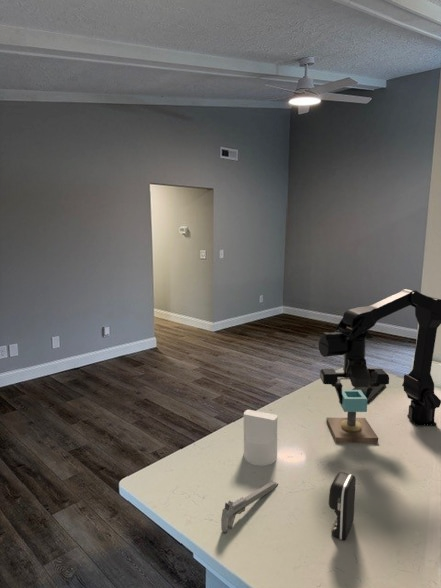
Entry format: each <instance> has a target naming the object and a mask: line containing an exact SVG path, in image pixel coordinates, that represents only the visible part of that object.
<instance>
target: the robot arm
mask: <svg viewBox="0 0 441 588" xmlns="http://www.w3.org/2000/svg"><path fill="white" fill-rule="evenodd" d="M409 306H411V307H412V308H414V313H415V319H416V320H417V323H418V330H417V338H416V343H415V351H414V358H413V364H412V369H411V371H410V372H409V373H408V374H407V373H405V374H404V375H403V382H402V385H401V386H402V387H403V391H404V393H405V394H406V397H407V398H408V399H409V400H410V404H409V405H408V414H407V415H406V416H407V417H408V418H409V420H410V421H411V422H412V423H413V424H414V425H415V426H421V427H422V426H423V427H424V426H426V427H427V426H428V427H429V426H432V427H433V426H437V422H436V421H435V414H436V409H438V408H440V406H441V399H440V398H439V397H438V396H437V394H436V393H435V382H434V380H433V377H432V374H431V371H432V364H433V356H434V350H435V346H436V337H437V331H438V328H439V327H440V326H441V299H440V298H437V297H432V296H428V295H425V294H422V293H421V292H419V291H417V290H413V289H410V288H404V289H402V290H400V291H399V292H397V293H395V294H393V295H390V296H387V297H386V298H384V299H382V300H380V301H378V302H374V303H373V304H370V305H367V306H358V307H355V308H351V309H350V308H349V309H347V310H346V311H345V312H344V313H343V316H342V318H341V320H340V321H339V323H338V324H337V325H336V327H335V328H334V332H327V331H325V332H323V333H322V336H321V337H320V338H319V341H318V346H317V347H318V350H319V354H320V355H321V357H323V358H329V357H339V356H343V358H344V359H343V367H342V371H343V372H336V370H335V369H334V368H321V370H320V371H319V379H320V380H321V382H322V384H323V385H331V387H334V389H335V391H336V395H337V397H338V402H339V401H340V403H339V404H342V400H343V399H342V390H343V386H344V385H343V384H342V383H341V380H350V383H351V386H352V387H353V388H355V387H363V394H364V395H365V396H366V398H367V399H368V397H369V395H370V393H371V392H372V390H373V389H374V388H375V387H379V386H380V384H386V385H390V377H389V374H388V373H387V372H386V371H385V370H384V369H383V368H371V367H370V368H368V366H367V359H366V346H367V345H366V342H367V339H368V340H370V339H374V335H372V334H371V333H370V332H369V330H370V329H372V328H373V327H375V325H377V322H378V321H380V320H381V319H383V318H386V317H388V316H390V315H392V314H395V313H396V312H398V311H400V310H403V309H405V308H406V307H407V308H408V307H409Z"/></svg>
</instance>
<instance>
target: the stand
mask: <svg viewBox="0 0 441 588" xmlns="http://www.w3.org/2000/svg"><path fill="white" fill-rule="evenodd" d="M325 421H326V424H327V426H328V429H329V430H330V431H329V432H330V433H331V435H332V437H333V440H334V442H335V443H353V444H354V443H357V444H358V443H362V444H363V443H364V444H365V443H368V444H371V443H374V444H376V443H377V444H378V443H379V437H378V435H377V433H376V432H375V431H374V429H373V428H372V426H371V424H370V423H369V421H368V419H367V418H366V417H357V412H347V417H326V420H325Z"/></svg>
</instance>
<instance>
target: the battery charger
mask: <svg viewBox="0 0 441 588" xmlns="http://www.w3.org/2000/svg"><path fill="white" fill-rule="evenodd" d="M328 495H329V497H328V506H329V509H332V510H334V511H333V512H334V514H335V515H336V519H335V520H334V523H333V525H332V527H331V529H330V532H331V535H332V536H334V537H336V538H337V539H339V540H343V541H346V539H347V537H348V535H349V533H350V530H351V527H352V526H353V523H354V519H355V518H354V517H355V516H354V515H355V500H356V476H355V475H353V474H351V473H346V472H343V471H339V472H337V474H336V476H335V478H334V480H333V481H332V482H331V484H330V487H329V493H328Z"/></svg>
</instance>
